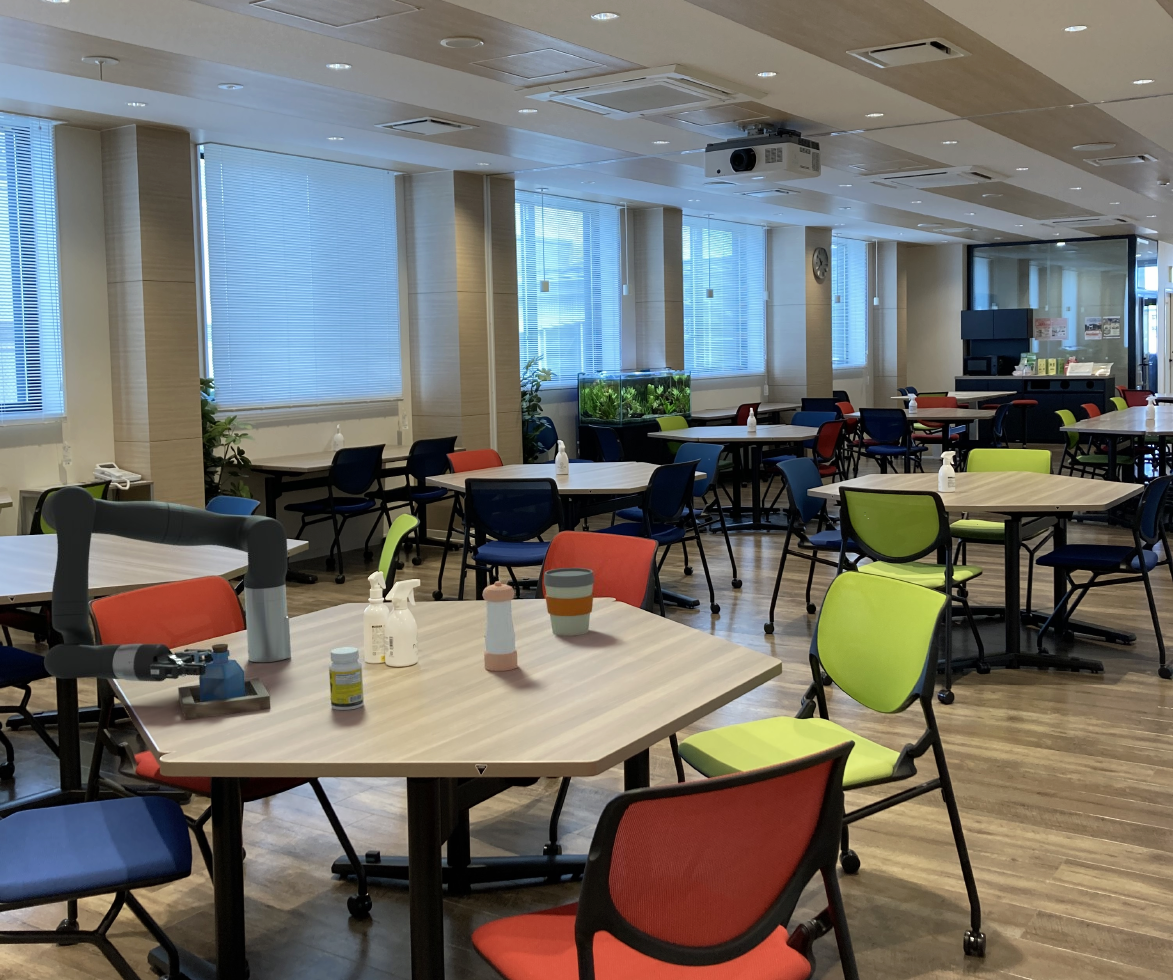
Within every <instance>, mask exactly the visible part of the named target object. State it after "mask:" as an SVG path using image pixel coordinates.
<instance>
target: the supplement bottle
mask: <svg viewBox="0 0 1173 980" xmlns="http://www.w3.org/2000/svg"><path fill="white" fill-rule="evenodd" d="M359 653H360V652H359V649H358V648H356V647H353V646H352V647H351V646H350V647H349V646H348V647H347V646H345V647H337V648H334V649H332V650H330V661H331V662H332V663H330V665H329V666H328V671H329V672H328V673H329V674H328V675H329V687H330V688H329V691H330V704H331V708H332V709H333V710H336V711H349V710H355V709H359V708H362V706H363V705H364V687H363V686H364V684H363V665H362V662H361V661H359V659H360V658H359V657H360V655H359Z"/></svg>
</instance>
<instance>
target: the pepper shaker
mask: <svg viewBox="0 0 1173 980" xmlns="http://www.w3.org/2000/svg"><path fill="white" fill-rule="evenodd" d="M482 597H483V600H485V601H486V602H485V603H486V627H485V635H484V643H485V645H484V646H485V650H484V654H483V656H484V658H483V659H484V660H483V661H484V669H485V670H487V671H491V672H503V671H505V672H506V671H512V670H515V669H516V668H518V666H519V665H518V650H517V649H516V633H515V627H514V624H513V623H514V622H513V616H512V615H513V614H512V613H513V611H512V600H513V599H514V598H515V590H514V588H513V587H512V586H511V585H509V584H505V583H504V584H503V583H502V582H501V581H500V580H499V581H498V580H497V581H495V582H494V584H490V585H488V586H486V587H485V588H484V589H483V591H482Z"/></svg>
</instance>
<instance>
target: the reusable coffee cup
mask: <svg viewBox="0 0 1173 980" xmlns="http://www.w3.org/2000/svg"><path fill="white" fill-rule="evenodd" d="M543 575H544V578H543V585H544V586H545V591H546V592H545V593H546V594H545V595H544V597H545V602H546V607H547V608H546V609H547V613H548V615H549V618H550V624H551V629H552V631H551V632H552V633H553V634H555V635H559V636H580V635H583V634H587V633H588V632H589V628H590V617H591V613H592V611H593V602H594V592H593V587H594V584H595V578H594V571H593V570H592V569H590V568H582V567H562V568H561V567H560V568H556V569H549V570H547V571H545V572H544V574H543Z"/></svg>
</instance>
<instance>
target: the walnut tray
mask: <svg viewBox="0 0 1173 980" xmlns="http://www.w3.org/2000/svg"><path fill="white" fill-rule="evenodd" d="M244 680H245V694H250V695H245V697H238V698H230V699H223V700H215V701H207V702H201V701H200V702H195V701H194V700H196V701H197V700H200V684H195V685H186V686H179V687H177V689H178V692H177V693H178V701H179V704H180V707H181V710H182V713H183V716H184V720H185V721H187V720H195V719H196V720H197V719H203V718H210V717H216V716H218V717H219V716H223V715H232V714H238V713H239V714H240V713H247V712H253V711H260V710H262V711H263V710H268V709H271V696H270V694H269V692H268V691H267V689H266V687H265V685H264V684H263V683H262V681H261V679H260V678H259V677H252V678H244Z"/></svg>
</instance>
